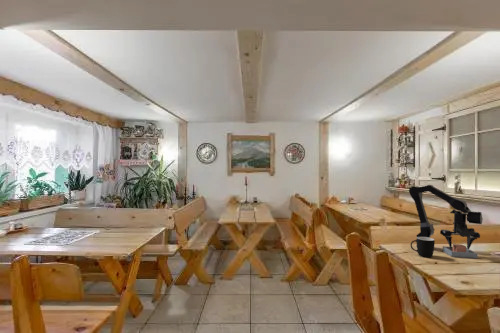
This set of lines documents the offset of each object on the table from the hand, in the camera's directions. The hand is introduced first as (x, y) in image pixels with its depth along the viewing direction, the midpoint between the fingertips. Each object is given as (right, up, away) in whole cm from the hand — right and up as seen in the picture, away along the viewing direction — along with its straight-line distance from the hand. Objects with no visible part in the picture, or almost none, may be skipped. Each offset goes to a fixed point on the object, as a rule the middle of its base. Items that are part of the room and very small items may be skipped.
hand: (459, 248), depth 175 cm
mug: (-24, -4, -3) cm, 24 cm away
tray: (0, -4, 0) cm, 4 cm away
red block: (0, -3, 0) cm, 3 cm away
